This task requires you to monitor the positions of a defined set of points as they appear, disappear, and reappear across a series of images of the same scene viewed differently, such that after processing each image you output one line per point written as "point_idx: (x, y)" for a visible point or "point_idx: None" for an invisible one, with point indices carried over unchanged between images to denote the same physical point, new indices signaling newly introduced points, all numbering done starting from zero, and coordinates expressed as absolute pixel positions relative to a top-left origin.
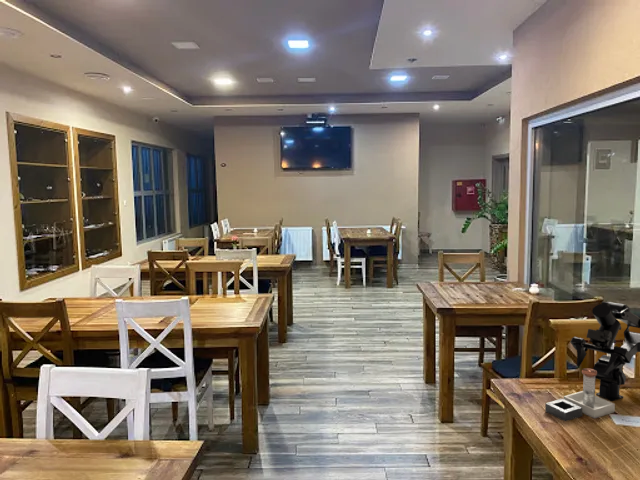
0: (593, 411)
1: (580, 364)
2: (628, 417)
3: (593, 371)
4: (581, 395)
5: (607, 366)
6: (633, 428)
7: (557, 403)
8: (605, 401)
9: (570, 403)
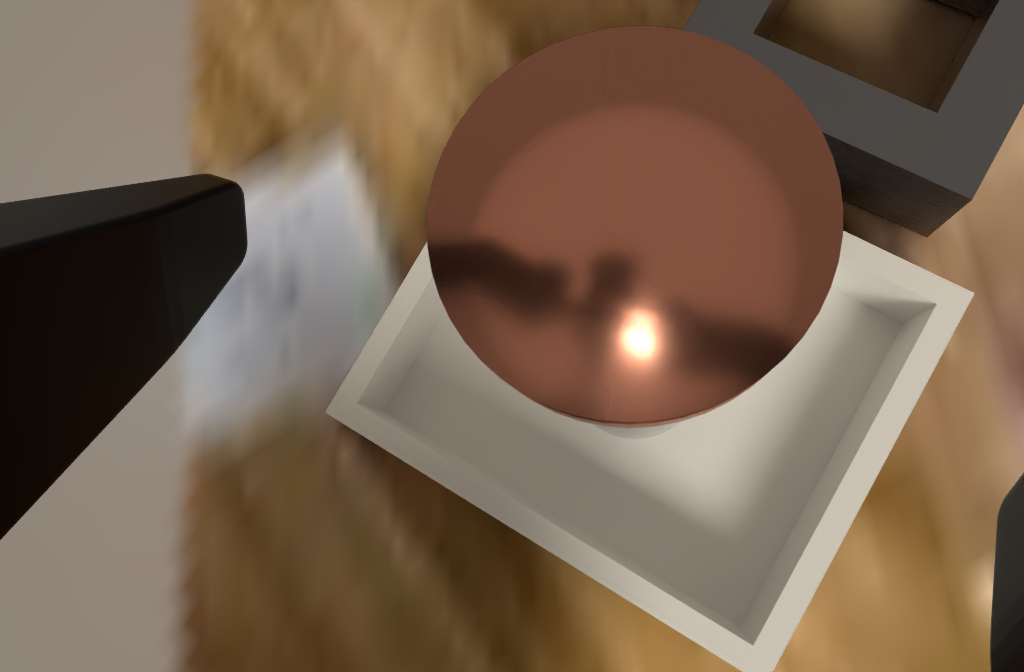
0: None
1: (999, 609)
2: (236, 375)
3: (518, 224)
4: (767, 596)
5: (38, 226)
6: (197, 142)
7: (980, 33)
8: (436, 450)
9: (824, 100)
